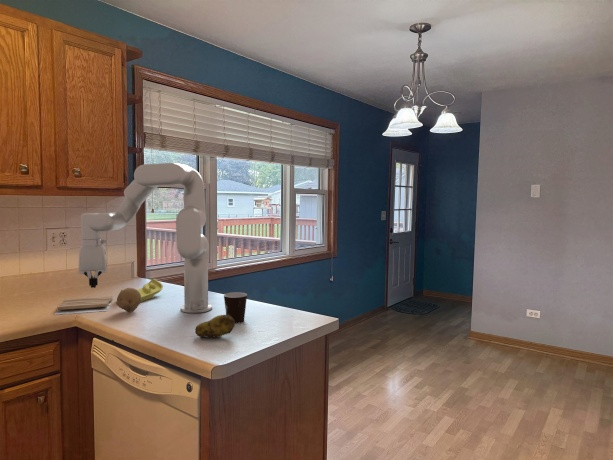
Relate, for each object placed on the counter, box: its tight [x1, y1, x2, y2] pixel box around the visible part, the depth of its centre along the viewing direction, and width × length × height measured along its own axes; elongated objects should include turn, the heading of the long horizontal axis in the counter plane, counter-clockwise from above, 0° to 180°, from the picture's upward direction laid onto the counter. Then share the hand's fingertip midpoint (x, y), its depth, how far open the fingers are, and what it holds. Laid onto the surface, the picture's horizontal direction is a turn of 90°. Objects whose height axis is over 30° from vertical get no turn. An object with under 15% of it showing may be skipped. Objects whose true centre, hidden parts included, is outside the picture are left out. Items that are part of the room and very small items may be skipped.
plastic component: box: [119, 278, 164, 303], centre depth 197 cm, size 20×7×10 cm
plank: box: [57, 301, 109, 311], centre depth 178 cm, size 8×18×1 cm, turn 109°
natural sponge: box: [116, 287, 141, 313], centre depth 172 cm, size 9×9×10 cm
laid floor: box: [53, 296, 113, 316], centre depth 181 cm, size 21×19×1 cm
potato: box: [194, 314, 236, 339], centre depth 142 cm, size 8×13×8 cm, turn 62°
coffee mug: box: [223, 291, 248, 325], centre depth 160 cm, size 12×9×10 cm
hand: (93, 287), depth 178 cm, fingers closed
